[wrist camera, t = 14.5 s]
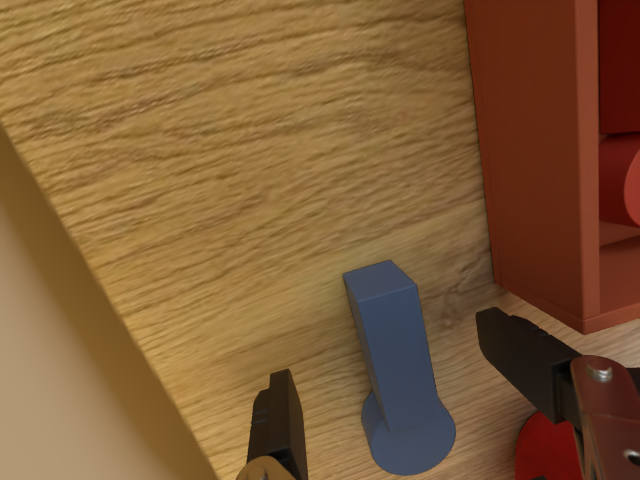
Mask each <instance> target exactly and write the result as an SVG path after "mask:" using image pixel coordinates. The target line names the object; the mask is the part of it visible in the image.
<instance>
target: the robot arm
mask: <svg viewBox="0 0 640 480" xmlns="http://www.w3.org/2000/svg"><path fill="white" fill-rule="evenodd" d="M475 318H476V326H477V333H478V340H479V346H480V349H481V351H482V353H483V355H484V357H485V358H486V359H487V360H488V361H489V362H490V363H491V364H492V365H493V366H494V367H495V368H496V369H497V370H498V371H499V372H500V373H501V374H502V375H503V376H504V377H505V378H506V379H507V380H508V381H509V382H510V383H511V384H512V385H513V386H514V387H516V388H517V389H518V390H519V391H520V392H521V393H522V394H523V395H524V396H525V397H526V398H527V399H528V400H529V401H530V402H531V403H532V404H533V405H534V406H535V407H536V408H537V409H538V410H539V411H540V412H541V413H542V414H543V415H544V416H546V417H547V418H548V419H549V420H550V421H551V422H552V423H553V424H554V425H556V424H559V423H562V422H565V421H569V422H570V423H571V424H572V425H573V434H574V439H575V444H576V449H577V454H578V459H579V464H580V469H581V474H582V479H583V480H640V367H638V368H625V367H624V366H622V365H621V364H619V363H618V362H615V361H613V360H611V359H608V358H605V357H600V356H594V355H584V356H583V355H582V354H580V353H579V352H577V351H575V350H574V349H572V348H571V347H569V346H568V345H566V344H565V343H563V342H561V341H560V340H558V339H557V338H555V337H554V336H552V335H549V334H548V333H547V332H546V331H544V330H543V329H540V328H539V327H538V326H537V325H535V324H533V323H532V322H530V321H529V320H527V319H524V318H521V317H518V316H515V315H511V316H509V315H507V314H506V313H504V312H503V311H501V310H500V309H498V308H497V307H492V308H489V309H486V310H482V311H479V312H477V313H476V315H475ZM252 415H253V416H252V421H251V425H252V426H251V430H250V438H249V447H248V455H247V463H246V465H245V466H244V467H243V468H242V470H241V471H240V473H239V474H238V476H237V478H236V480H308V469H307V457H306V445H305V433H304V421H303V412H302V407H301V403H300V399H299V396H298V393H297V390H296V387H295V384H294V381H293V378H292V375H291V372H290V370H289V368H288V369H284V370H281V371H278V372H274V373H271V374H270V386H269V388H268V389H265V390H262V391H260V392H259V394H258V396H257V397H256V399H255V401H254V404H253V413H252ZM530 480H547V479H546V478H545V477H544V475H542V476H539V477H536V478H533V479H530Z"/></svg>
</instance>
